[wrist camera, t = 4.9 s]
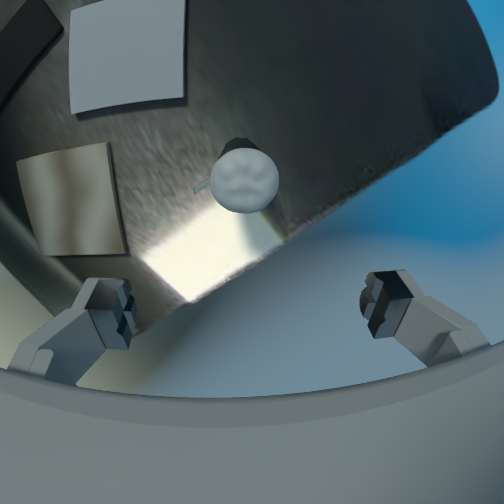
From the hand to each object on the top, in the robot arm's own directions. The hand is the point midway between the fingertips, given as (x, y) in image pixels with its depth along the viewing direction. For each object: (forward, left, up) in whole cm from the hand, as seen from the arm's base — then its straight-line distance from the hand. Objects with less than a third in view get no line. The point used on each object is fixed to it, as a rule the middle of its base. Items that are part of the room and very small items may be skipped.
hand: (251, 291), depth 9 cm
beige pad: (-18, -4, -19) cm, 26 cm away
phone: (-25, +14, -20) cm, 35 cm away
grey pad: (-10, +11, -19) cm, 24 cm away
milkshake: (0, 0, -19) cm, 19 cm away
